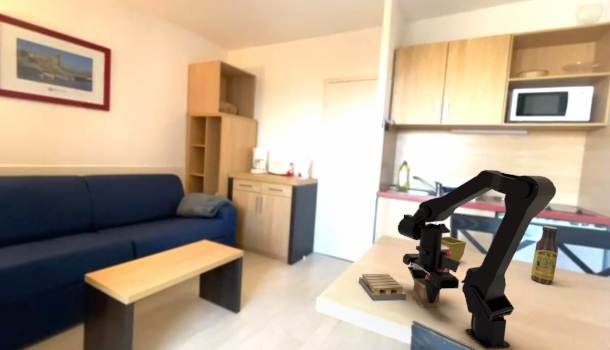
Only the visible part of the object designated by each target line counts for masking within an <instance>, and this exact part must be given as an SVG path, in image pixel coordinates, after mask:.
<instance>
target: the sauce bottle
mask: <svg viewBox="0 0 610 350" xmlns="http://www.w3.org/2000/svg"><path fill="white" fill-rule="evenodd" d="M558 229H559V228H557V227H555V226H551V225H543V226H542V228H541V230H542V234H541V238H540V239H539V240H538V241H537V242H536V246H535V250H534V255H533V260H532V265H531V275H530V276H531V279H532V280H533V281H535V282H538V283H541V284H545V285H552V284H553V282H554V280H555V279H554V278H555V272H556V268H557V262H558V261H557V259H558V256H559V255H558V253H559V245H558V243H557V242H556V237H557V233H558Z"/></svg>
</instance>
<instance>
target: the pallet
mask: <svg viewBox="0 0 610 350" xmlns="http://www.w3.org/2000/svg"><path fill="white" fill-rule="evenodd" d="M361 275H362V276H361V277H363V280H364V281H365V282H366V284H367V285H368V286H369V287H370V288H371V290H372V291H373V292H374V293H380V290H384V292H386V293H391V289H394V290H395V291H396V292H397V293H402V291H403V289H404V287H403V285H401V284H400V283H399V282H398V281H397V280H396V279H394V278H393V276H391V274H389V273H362V274H361Z"/></svg>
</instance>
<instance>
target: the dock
mask: <svg viewBox="0 0 610 350" xmlns="http://www.w3.org/2000/svg"><path fill="white" fill-rule="evenodd" d="M358 284H360V285H361V286H362V288H363V290H364V291H365V292H366V293H367V294H368V295H369V297H370V298H371V300H372V301H397V300H399V301H400V300H407V299H406V298H407V293H406V292H404V291H403V290H402V293H397V292H396V291H395V290H394V289H391V293H386V292H384V290H380V293H374V292H373V291H372V290H371V288H370V287H369V286H368V285H367V284H366V282H365V281H364V280H363V276H361V277H360V276H359V277H358Z"/></svg>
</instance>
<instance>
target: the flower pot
mask: <svg viewBox="0 0 610 350" xmlns="http://www.w3.org/2000/svg"><path fill="white" fill-rule="evenodd" d="M442 245H445V246H448V247H449V250H450V253H451V258H453V259H454V260H456V261H458V262H460V260H461V259H462V257H463V256H464V254H465V250H466V246H467V242H466V241H465V240H461V239H457V238H454V237H452V236H451V237H450V236H442Z"/></svg>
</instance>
